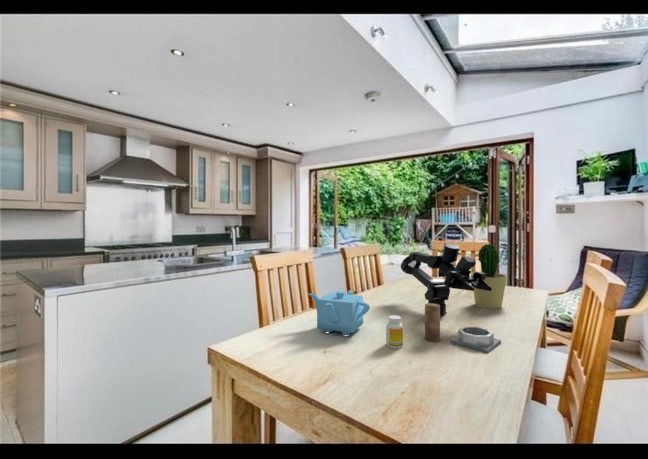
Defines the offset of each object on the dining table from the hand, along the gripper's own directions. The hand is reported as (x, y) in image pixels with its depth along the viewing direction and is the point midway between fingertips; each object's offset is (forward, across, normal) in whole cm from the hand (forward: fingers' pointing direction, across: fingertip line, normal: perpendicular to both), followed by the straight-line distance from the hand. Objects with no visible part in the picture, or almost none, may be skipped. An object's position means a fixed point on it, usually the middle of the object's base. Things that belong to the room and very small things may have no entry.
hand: (482, 289), depth 123 cm
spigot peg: (+3, -20, +18) cm, 27 cm away
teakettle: (-18, -45, +27) cm, 56 cm away
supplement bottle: (+2, -35, +20) cm, 40 cm away
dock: (+11, -10, +14) cm, 20 cm away
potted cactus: (-20, +35, +19) cm, 45 cm away
